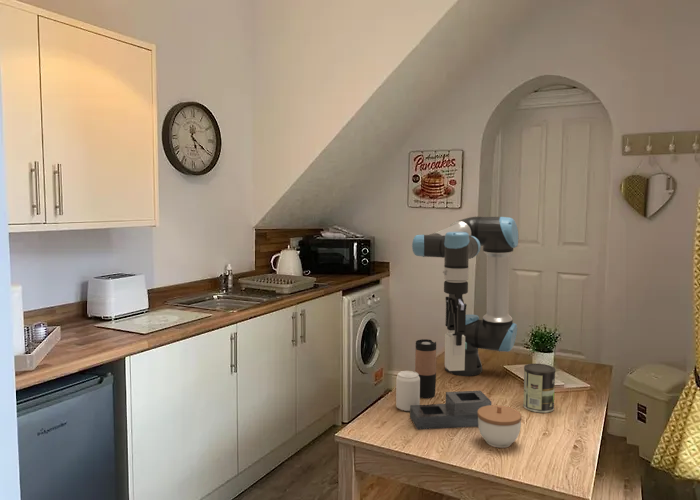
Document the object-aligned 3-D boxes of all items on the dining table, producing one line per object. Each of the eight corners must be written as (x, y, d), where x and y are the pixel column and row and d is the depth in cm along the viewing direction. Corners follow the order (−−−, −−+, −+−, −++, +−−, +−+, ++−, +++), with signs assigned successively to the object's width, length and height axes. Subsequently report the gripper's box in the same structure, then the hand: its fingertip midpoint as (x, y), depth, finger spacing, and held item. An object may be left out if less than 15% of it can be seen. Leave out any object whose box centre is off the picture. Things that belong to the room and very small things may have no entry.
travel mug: (413, 397, 200) (414, 344, 198) (416, 390, 208) (416, 338, 206) (434, 399, 199) (435, 345, 197) (436, 392, 206) (437, 339, 204)
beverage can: (421, 404, 194) (421, 371, 193) (417, 413, 186) (418, 378, 185) (398, 402, 196) (398, 369, 195) (394, 410, 189) (394, 376, 187)
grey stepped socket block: (410, 416, 183) (410, 393, 183) (480, 413, 186) (480, 390, 185) (417, 429, 173) (417, 405, 173) (490, 425, 176) (491, 401, 175)
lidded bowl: (468, 442, 165) (469, 406, 164) (491, 429, 173) (491, 395, 172) (506, 456, 156) (507, 418, 155) (528, 442, 164) (529, 406, 163)
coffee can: (551, 402, 196) (553, 364, 194) (556, 414, 186) (557, 373, 184) (521, 400, 198) (522, 362, 196) (524, 411, 188) (525, 371, 186)
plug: (444, 366, 180) (445, 333, 179) (462, 365, 181) (462, 332, 180) (449, 370, 175) (450, 336, 174) (467, 370, 176) (468, 336, 175)
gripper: (436, 276, 184) (435, 345, 186) (453, 285, 166) (452, 361, 168) (458, 276, 185) (456, 344, 187) (477, 284, 167) (476, 360, 169)
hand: (454, 352), depth 177 cm, fingers closed on plug, 5 cm apart
